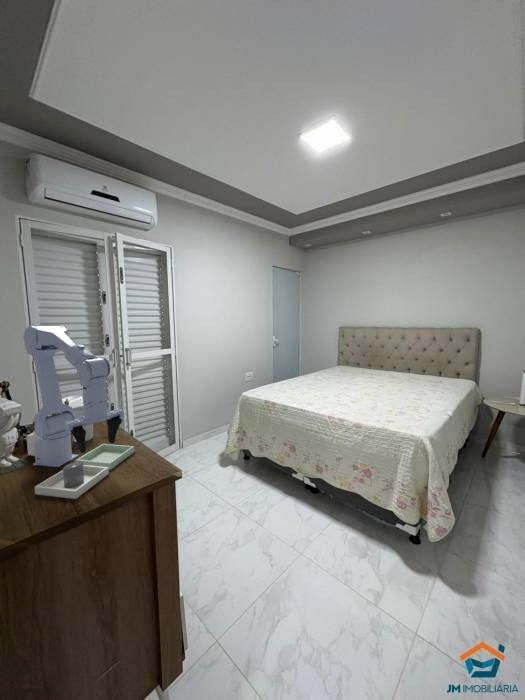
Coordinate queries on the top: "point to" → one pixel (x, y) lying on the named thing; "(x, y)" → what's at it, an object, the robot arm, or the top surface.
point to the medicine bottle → (31, 442)
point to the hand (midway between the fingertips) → (97, 446)
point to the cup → (88, 428)
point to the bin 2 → (106, 455)
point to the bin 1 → (57, 489)
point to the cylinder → (73, 474)
